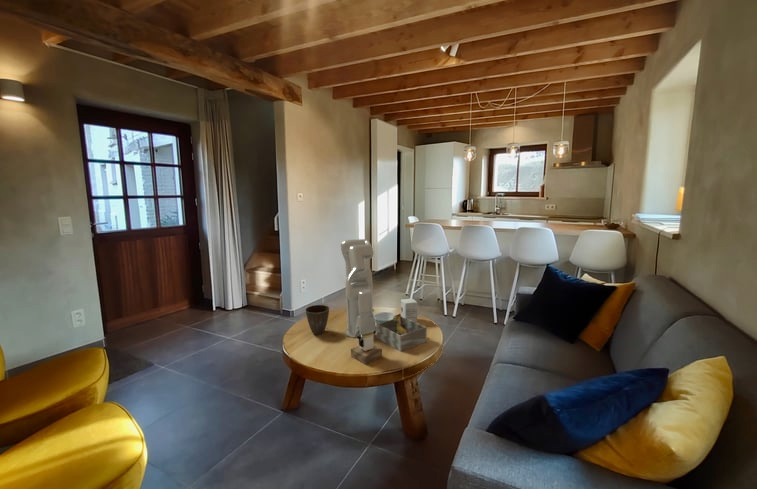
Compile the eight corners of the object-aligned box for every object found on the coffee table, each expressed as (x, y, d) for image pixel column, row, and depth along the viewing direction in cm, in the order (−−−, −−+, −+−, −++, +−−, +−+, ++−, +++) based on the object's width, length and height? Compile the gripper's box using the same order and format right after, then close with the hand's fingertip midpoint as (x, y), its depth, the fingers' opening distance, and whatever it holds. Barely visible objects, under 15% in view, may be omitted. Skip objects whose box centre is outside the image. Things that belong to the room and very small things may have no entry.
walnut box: (351, 357, 187) (350, 349, 186) (367, 350, 195) (367, 342, 194) (365, 365, 178) (365, 356, 177) (382, 357, 186) (381, 349, 186)
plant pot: (332, 328, 226) (331, 305, 224) (327, 337, 212) (326, 313, 209) (310, 327, 228) (309, 304, 225) (303, 337, 213) (302, 312, 211)
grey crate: (376, 337, 210) (376, 324, 209) (402, 329, 222) (402, 316, 221) (400, 351, 192) (400, 336, 191) (426, 341, 204) (426, 327, 203)
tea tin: (359, 347, 186) (358, 333, 185) (367, 344, 190) (367, 330, 188) (365, 351, 182) (364, 336, 180) (373, 348, 185) (373, 334, 184)
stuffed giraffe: (397, 330, 219) (397, 307, 216) (420, 339, 208) (421, 314, 205) (381, 340, 207) (381, 315, 204) (405, 349, 196) (405, 324, 193)
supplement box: (400, 319, 239) (400, 299, 237) (412, 318, 242) (412, 297, 239) (405, 324, 230) (405, 303, 228) (417, 322, 233) (417, 301, 231)
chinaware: (397, 331, 219) (396, 320, 218) (373, 331, 219) (373, 320, 218) (396, 322, 234) (396, 312, 233) (374, 322, 234) (374, 312, 233)
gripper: (374, 307, 191) (375, 338, 193) (348, 314, 181) (349, 346, 183) (382, 311, 185) (383, 342, 188) (355, 318, 175) (356, 351, 177)
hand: (366, 344), depth 185 cm, fingers open, 5 cm apart
